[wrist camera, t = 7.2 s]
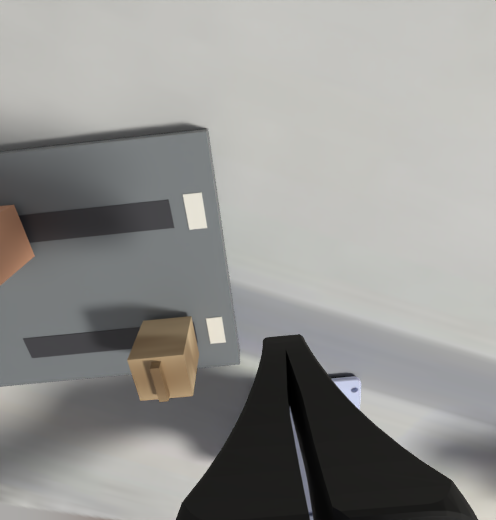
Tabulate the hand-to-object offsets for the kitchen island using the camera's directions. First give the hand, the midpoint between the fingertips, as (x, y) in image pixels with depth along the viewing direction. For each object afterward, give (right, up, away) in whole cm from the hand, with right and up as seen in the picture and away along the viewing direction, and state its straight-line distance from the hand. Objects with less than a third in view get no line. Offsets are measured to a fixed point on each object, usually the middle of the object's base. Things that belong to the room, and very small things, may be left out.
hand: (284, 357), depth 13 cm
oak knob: (-6, -1, +10) cm, 12 cm away
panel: (-12, +3, +9) cm, 16 cm away
